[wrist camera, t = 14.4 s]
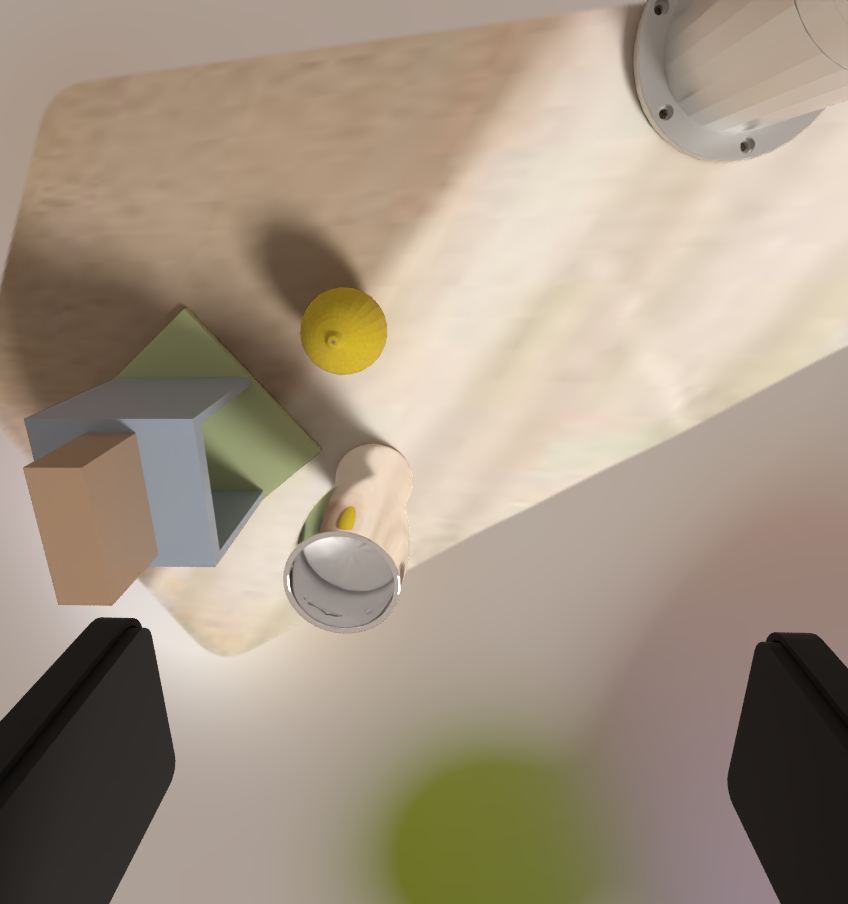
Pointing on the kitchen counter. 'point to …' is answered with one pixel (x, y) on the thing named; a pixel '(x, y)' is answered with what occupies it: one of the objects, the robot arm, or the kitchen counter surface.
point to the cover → (130, 484)
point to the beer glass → (353, 544)
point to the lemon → (343, 330)
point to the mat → (229, 411)
